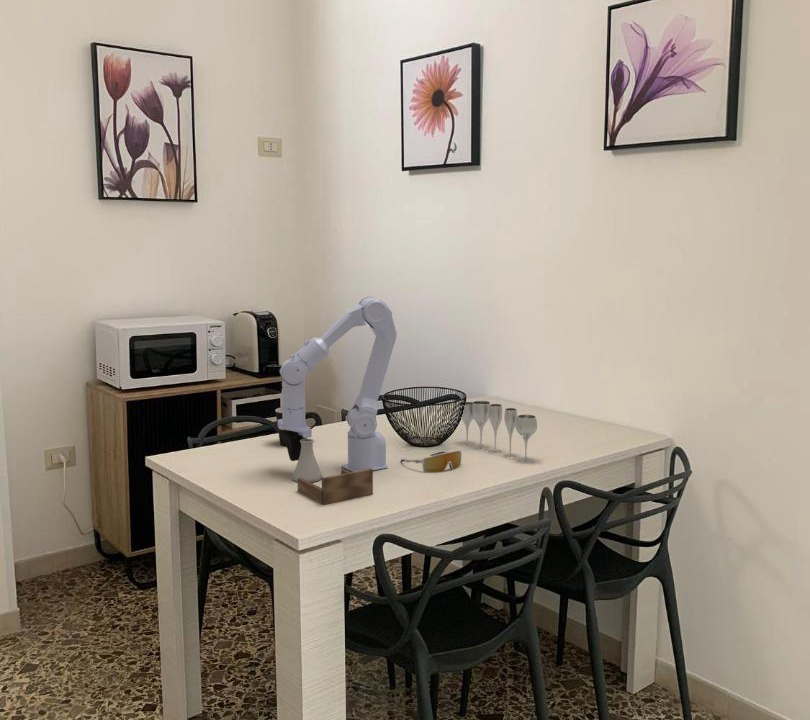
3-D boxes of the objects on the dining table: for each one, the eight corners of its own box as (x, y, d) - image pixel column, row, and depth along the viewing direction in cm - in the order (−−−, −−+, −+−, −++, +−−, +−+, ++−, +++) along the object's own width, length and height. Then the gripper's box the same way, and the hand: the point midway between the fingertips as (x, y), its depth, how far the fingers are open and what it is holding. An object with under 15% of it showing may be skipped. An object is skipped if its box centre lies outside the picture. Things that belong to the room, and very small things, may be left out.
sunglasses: (428, 476, 207) (426, 456, 207) (394, 471, 220) (392, 452, 219) (471, 467, 215) (470, 448, 215) (436, 462, 228) (435, 444, 228)
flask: (307, 473, 210) (307, 434, 208) (328, 478, 205) (327, 439, 204) (286, 479, 204) (285, 440, 203) (307, 485, 200) (306, 445, 198)
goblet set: (454, 443, 239) (454, 398, 237) (468, 440, 242) (469, 396, 240) (526, 464, 217) (527, 415, 215) (541, 460, 221) (542, 412, 219)
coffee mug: (271, 446, 236) (270, 412, 234) (282, 439, 244) (282, 406, 242) (310, 449, 233) (309, 414, 231) (320, 441, 241) (319, 408, 240)
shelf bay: (344, 481, 203) (344, 457, 202) (372, 494, 193) (372, 469, 192) (297, 490, 195) (297, 466, 194) (324, 504, 185) (323, 479, 184)
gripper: (266, 404, 211) (267, 456, 213) (293, 414, 199) (294, 469, 201) (291, 401, 215) (292, 451, 217) (318, 410, 203) (319, 464, 205)
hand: (294, 460), depth 209 cm, fingers closed
